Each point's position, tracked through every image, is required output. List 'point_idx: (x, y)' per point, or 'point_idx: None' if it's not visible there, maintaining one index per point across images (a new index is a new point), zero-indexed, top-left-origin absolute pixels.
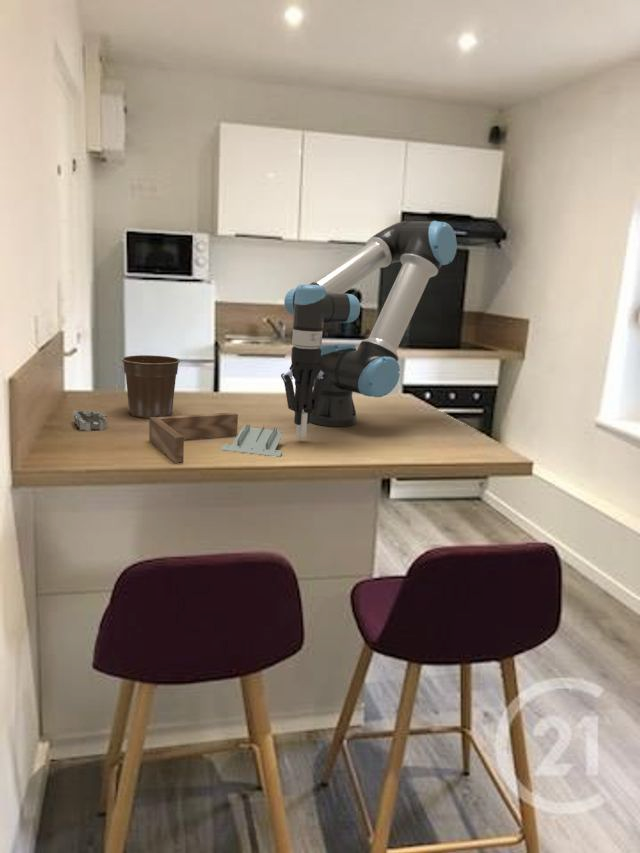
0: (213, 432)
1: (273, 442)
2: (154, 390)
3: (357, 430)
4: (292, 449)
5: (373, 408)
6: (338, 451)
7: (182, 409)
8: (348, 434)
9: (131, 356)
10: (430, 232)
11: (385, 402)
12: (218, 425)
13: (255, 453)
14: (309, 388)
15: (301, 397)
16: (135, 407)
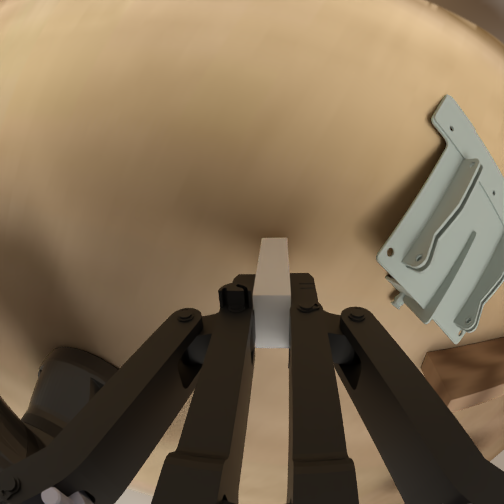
0: (486, 351)
1: (439, 193)
2: None
3: (49, 308)
4: (361, 162)
5: (24, 405)
6: (186, 85)
7: (373, 485)
8: (75, 283)
9: None
10: None
11: None
12: (484, 366)
13: (493, 160)
14: (220, 445)
15: (314, 377)
16: None
